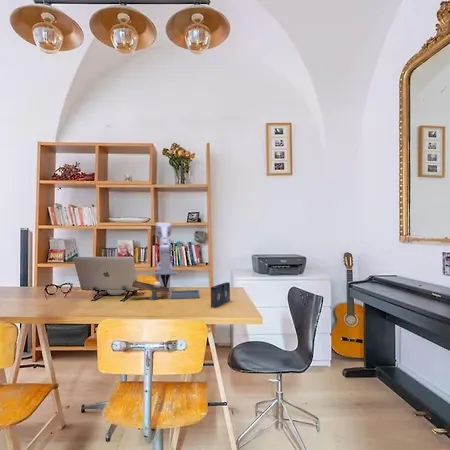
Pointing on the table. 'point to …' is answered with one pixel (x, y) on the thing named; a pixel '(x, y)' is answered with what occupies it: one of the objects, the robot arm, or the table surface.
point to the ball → (157, 284)
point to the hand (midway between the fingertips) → (165, 287)
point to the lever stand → (154, 295)
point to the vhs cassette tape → (220, 294)
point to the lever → (149, 287)
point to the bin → (184, 294)
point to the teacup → (115, 292)
